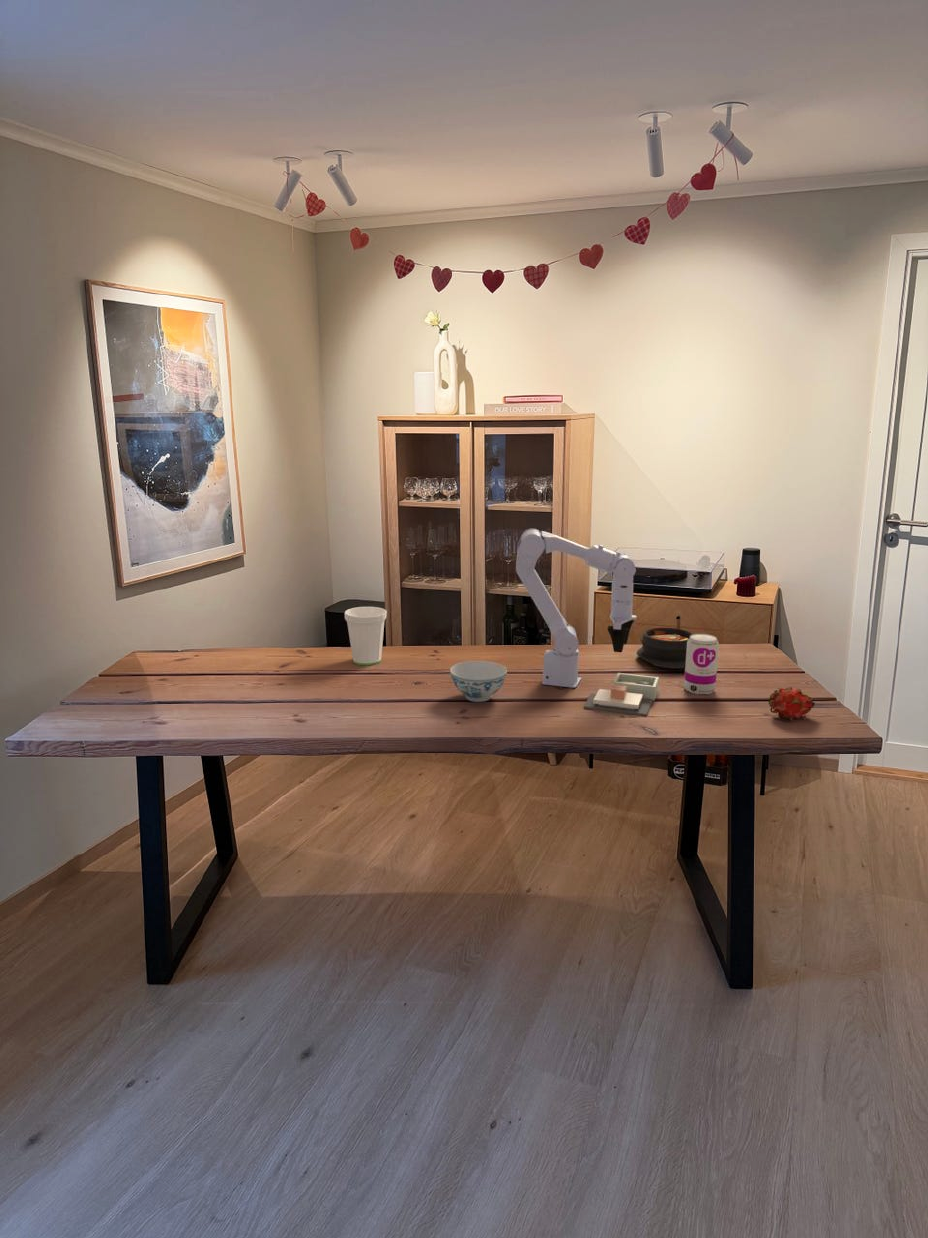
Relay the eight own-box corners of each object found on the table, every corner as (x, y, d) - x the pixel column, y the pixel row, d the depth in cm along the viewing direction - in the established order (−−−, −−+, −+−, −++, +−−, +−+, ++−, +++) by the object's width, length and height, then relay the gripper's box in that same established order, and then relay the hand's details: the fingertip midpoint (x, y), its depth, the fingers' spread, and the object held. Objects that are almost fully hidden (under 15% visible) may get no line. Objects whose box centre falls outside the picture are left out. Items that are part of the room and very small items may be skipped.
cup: (352, 653, 265) (350, 605, 261) (392, 655, 263) (391, 607, 259) (341, 666, 253) (339, 616, 249) (382, 668, 251) (381, 618, 247)
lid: (593, 706, 221) (593, 690, 220) (599, 695, 229) (599, 680, 227) (637, 711, 217) (638, 695, 216) (642, 700, 225) (643, 685, 224)
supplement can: (716, 696, 229) (720, 642, 225) (684, 694, 231) (688, 641, 227) (713, 686, 237) (718, 634, 233) (683, 684, 239) (686, 632, 235)
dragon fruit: (761, 721, 217) (807, 728, 217) (776, 713, 209) (824, 720, 209) (760, 689, 220) (806, 695, 220) (775, 680, 212) (822, 686, 212)
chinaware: (480, 712, 218) (481, 683, 216) (438, 698, 228) (438, 670, 226) (518, 696, 229) (518, 669, 227) (476, 683, 239) (476, 657, 237)
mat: (583, 708, 221) (583, 706, 221) (591, 695, 230) (591, 693, 230) (646, 715, 216) (646, 714, 216) (651, 702, 225) (652, 700, 225)
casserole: (630, 648, 271) (631, 622, 269) (689, 648, 271) (691, 623, 268) (643, 674, 247) (645, 646, 245) (708, 674, 247) (711, 646, 244)
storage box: (612, 696, 229) (613, 682, 228) (617, 686, 237) (618, 672, 236) (654, 701, 226) (655, 686, 225) (658, 691, 233) (658, 677, 232)
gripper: (632, 607, 225) (631, 656, 228) (640, 594, 238) (638, 641, 242) (606, 605, 227) (604, 654, 231) (615, 592, 240) (613, 639, 244)
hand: (620, 647), depth 236 cm, fingers open, 7 cm apart
